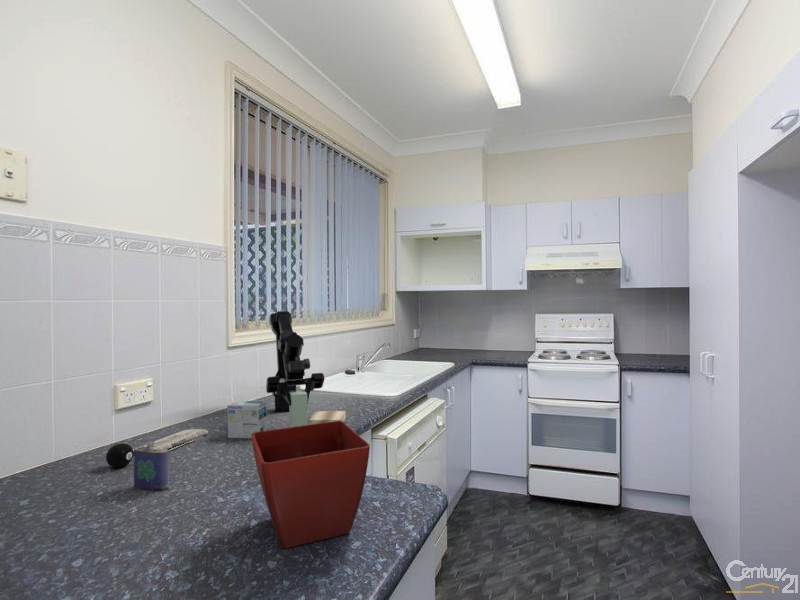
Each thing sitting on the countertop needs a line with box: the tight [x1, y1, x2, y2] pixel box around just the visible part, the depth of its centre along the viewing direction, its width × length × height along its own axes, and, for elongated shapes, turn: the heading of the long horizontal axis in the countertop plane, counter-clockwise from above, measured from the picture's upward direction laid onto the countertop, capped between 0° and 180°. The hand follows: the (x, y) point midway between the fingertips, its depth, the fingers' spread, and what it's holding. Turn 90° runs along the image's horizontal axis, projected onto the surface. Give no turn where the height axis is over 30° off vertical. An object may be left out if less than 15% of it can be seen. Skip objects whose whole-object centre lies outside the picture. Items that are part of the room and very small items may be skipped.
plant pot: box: [251, 421, 371, 549], centre depth 85 cm, size 19×19×17 cm
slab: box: [308, 410, 347, 425], centre depth 156 cm, size 11×12×3 cm
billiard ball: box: [105, 443, 134, 469], centre depth 118 cm, size 6×6×6 cm
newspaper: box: [132, 428, 209, 453], centre depth 137 cm, size 23×12×2 cm, turn 161°
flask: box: [133, 441, 170, 492], centre depth 104 cm, size 9×3×11 cm, turn 74°
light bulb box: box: [226, 400, 268, 439], centre depth 144 cm, size 11×7×11 cm, turn 84°
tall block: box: [289, 390, 309, 427], centre depth 146 cm, size 5×5×10 cm
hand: (299, 404), depth 145 cm, fingers closed on tall block, 5 cm apart
